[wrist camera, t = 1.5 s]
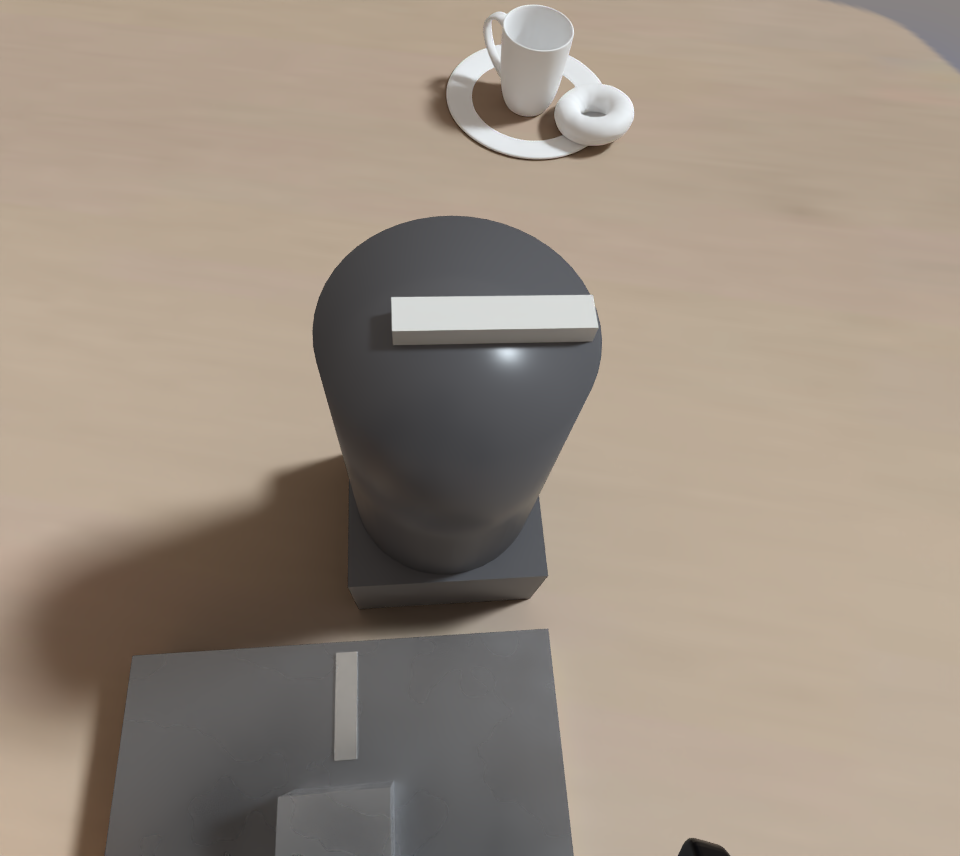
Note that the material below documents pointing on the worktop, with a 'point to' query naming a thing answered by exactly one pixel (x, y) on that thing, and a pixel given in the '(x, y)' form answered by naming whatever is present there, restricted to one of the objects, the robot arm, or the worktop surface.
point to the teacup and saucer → (538, 86)
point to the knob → (452, 404)
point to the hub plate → (344, 751)
